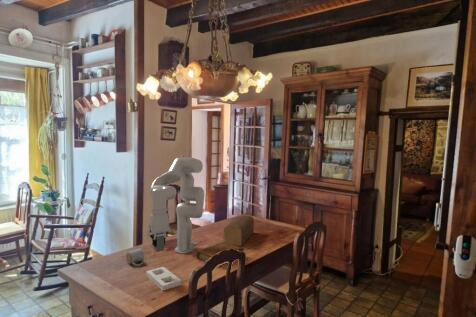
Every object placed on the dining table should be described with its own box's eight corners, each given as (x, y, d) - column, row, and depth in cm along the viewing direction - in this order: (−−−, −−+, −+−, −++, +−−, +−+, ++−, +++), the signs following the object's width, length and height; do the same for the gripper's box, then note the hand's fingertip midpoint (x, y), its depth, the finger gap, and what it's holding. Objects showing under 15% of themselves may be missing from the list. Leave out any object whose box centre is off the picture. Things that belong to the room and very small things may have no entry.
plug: (160, 248, 164) (160, 231, 164) (164, 250, 161) (164, 233, 161) (153, 249, 162) (153, 233, 161) (156, 252, 159) (157, 235, 158)
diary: (222, 249, 205) (223, 241, 205) (243, 257, 192) (244, 248, 192) (196, 259, 188) (196, 250, 187) (217, 268, 175) (218, 258, 175)
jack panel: (163, 271, 169) (163, 266, 169) (181, 284, 154) (181, 280, 153) (146, 275, 163) (146, 271, 162) (162, 290, 147) (162, 285, 147)
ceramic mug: (125, 262, 180) (125, 249, 179) (138, 258, 185) (138, 246, 184) (133, 268, 172) (133, 255, 171) (146, 264, 177) (146, 251, 177)
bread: (254, 232, 242) (254, 215, 241) (241, 247, 210) (242, 226, 209) (237, 230, 246) (237, 213, 245) (222, 244, 214) (223, 224, 213)
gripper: (170, 208, 168) (170, 240, 170) (140, 212, 158) (140, 246, 159) (176, 210, 162) (176, 244, 164) (146, 215, 152) (146, 251, 153)
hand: (158, 245), depth 161 cm, fingers closed on plug, 4 cm apart
